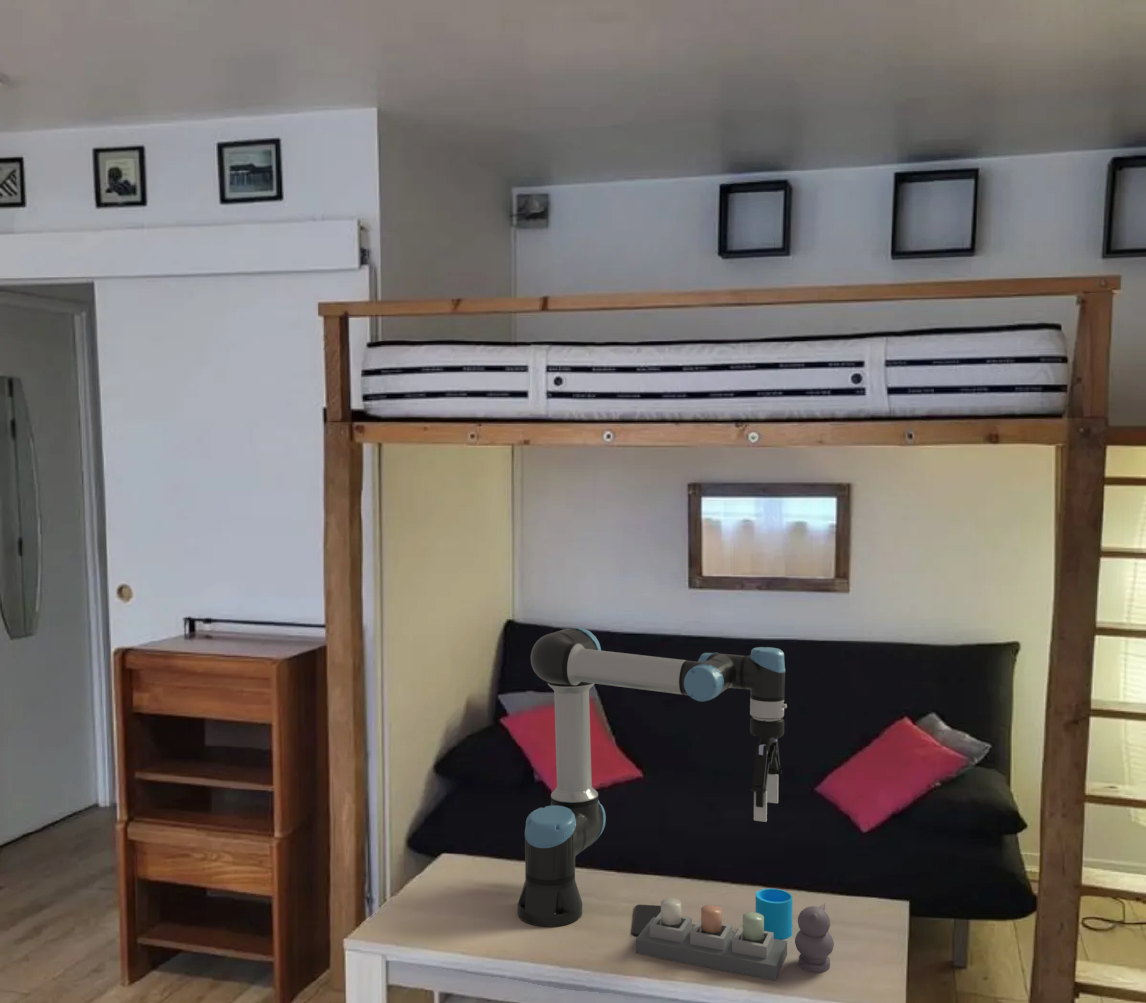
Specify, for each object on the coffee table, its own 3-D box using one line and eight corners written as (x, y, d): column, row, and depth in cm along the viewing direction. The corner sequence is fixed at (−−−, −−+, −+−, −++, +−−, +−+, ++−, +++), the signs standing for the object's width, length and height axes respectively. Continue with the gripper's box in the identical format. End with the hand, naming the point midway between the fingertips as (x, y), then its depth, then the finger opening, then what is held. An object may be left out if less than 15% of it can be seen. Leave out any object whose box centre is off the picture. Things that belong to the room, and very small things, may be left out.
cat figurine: (801, 952, 215) (802, 896, 215) (838, 961, 211) (838, 904, 211) (789, 968, 208) (789, 911, 207) (826, 978, 204) (827, 919, 203)
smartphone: (666, 940, 221) (668, 909, 237) (666, 936, 221) (668, 905, 237) (631, 938, 222) (635, 907, 238) (631, 934, 222) (635, 903, 238)
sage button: (740, 938, 209) (740, 919, 209) (745, 929, 213) (745, 910, 213) (761, 942, 207) (761, 922, 207) (765, 933, 211) (765, 914, 211)
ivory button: (658, 923, 216) (658, 904, 216) (664, 915, 220) (664, 897, 220) (677, 926, 214) (677, 908, 214) (683, 918, 218) (683, 900, 218)
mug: (789, 942, 219) (789, 905, 219) (752, 936, 222) (752, 900, 222) (797, 920, 231) (797, 885, 231) (761, 915, 234) (762, 880, 233)
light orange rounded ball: (698, 930, 213) (698, 911, 213) (704, 922, 217) (704, 903, 217) (718, 934, 211) (718, 915, 211) (724, 925, 215) (724, 907, 215)
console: (635, 953, 214) (635, 928, 214) (653, 930, 225) (653, 906, 225) (775, 980, 203) (775, 954, 202) (787, 955, 214) (787, 930, 213)
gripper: (773, 731, 212) (772, 831, 212) (793, 707, 235) (792, 797, 236) (738, 728, 215) (737, 826, 215) (761, 704, 238) (760, 793, 238)
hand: (766, 811), depth 225 cm, fingers open, 13 cm apart
